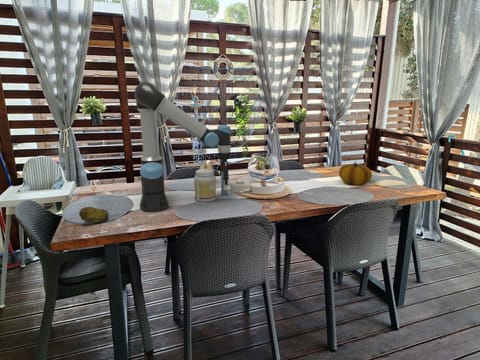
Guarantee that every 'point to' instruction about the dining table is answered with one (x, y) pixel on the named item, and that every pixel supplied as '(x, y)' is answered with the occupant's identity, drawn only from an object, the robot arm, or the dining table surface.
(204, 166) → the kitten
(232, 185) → the socket block
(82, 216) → the potato
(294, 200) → the dining table surface
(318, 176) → the dining table surface
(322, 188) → the dining table surface
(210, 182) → the supplement tub
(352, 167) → the decorative pumpkin
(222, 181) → the peg
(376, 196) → the dining table surface
